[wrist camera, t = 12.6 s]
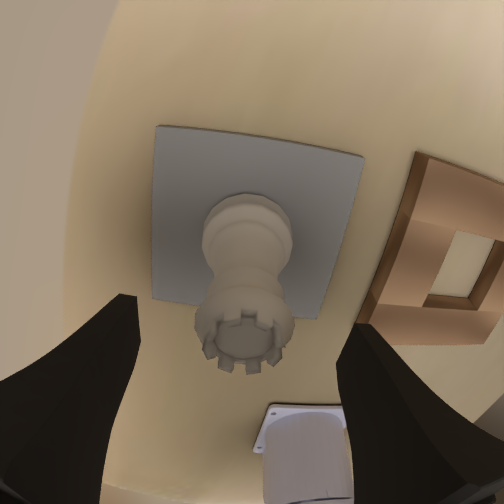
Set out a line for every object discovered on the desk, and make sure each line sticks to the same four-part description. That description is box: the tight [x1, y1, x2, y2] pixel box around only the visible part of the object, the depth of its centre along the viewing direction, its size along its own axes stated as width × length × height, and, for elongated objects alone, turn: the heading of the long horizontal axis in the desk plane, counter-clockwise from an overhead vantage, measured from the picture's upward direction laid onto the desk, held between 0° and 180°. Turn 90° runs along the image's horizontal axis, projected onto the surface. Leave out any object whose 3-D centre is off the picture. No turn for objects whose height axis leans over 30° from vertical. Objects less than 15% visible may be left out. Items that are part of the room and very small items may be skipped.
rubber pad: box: [151, 125, 365, 319], centre depth 17 cm, size 10×10×1 cm
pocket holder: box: [356, 152, 504, 345], centre depth 17 cm, size 12×12×2 cm
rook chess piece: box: [194, 194, 295, 375], centre depth 13 cm, size 4×4×8 cm
